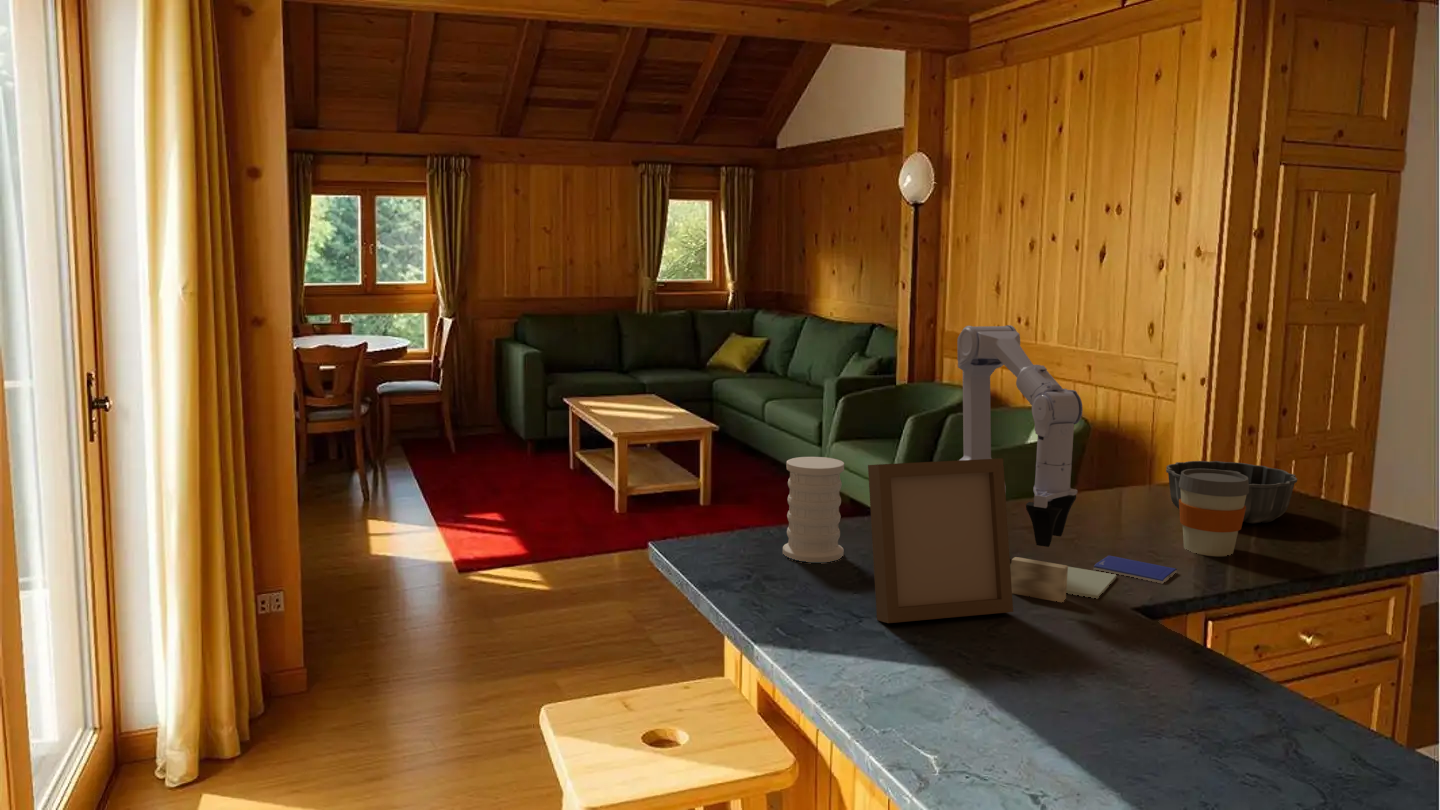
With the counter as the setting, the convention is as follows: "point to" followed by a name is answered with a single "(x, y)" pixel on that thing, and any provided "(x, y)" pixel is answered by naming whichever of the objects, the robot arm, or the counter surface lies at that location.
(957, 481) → the photo frame
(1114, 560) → the hard drive
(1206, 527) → the reusable coffee cup
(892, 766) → the counter surface
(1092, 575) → the mat
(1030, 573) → the oak tile
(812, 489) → the decorative container
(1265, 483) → the bundt pan
